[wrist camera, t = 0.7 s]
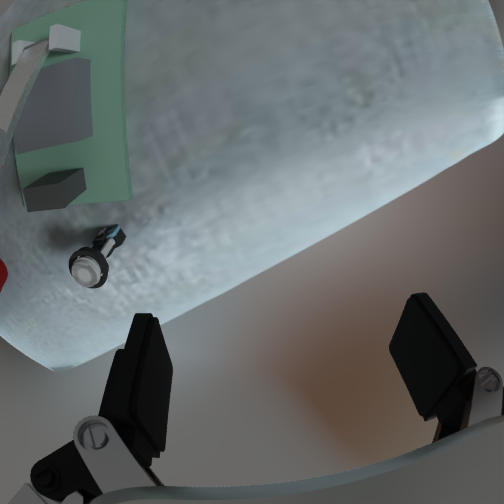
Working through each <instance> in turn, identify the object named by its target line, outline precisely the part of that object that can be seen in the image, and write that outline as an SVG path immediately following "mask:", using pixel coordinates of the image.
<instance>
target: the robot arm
mask: <svg viewBox="0 0 504 504" xmlns="http://www.w3.org/2000/svg"><path fill="white" fill-rule="evenodd" d="M389 351H390V353H391V355H392V357H393V359H394V361H395V363H396V366H397V368H398V370H399V372H400V374H401V376H402V378H403V380H404V382H405V384H406V386H407V388H408V391H409V393H410V395H411V397H412V400H413V402H414V404H415V406H416V409H417V411H418V413H419V415H420V416H423V418H424V421H428V420H431V419H433V418H435V417H436V416H437V418H438V420H439V421H438V425H437V428H436V431H435V435H434V438H433V441H432V443H431V444H429V445H426V446H424V447H421V448H419V449H416V450H413V451H411V452H408V453H405V454H403V455H399V456H397V457H394V458H391V459H387V460H384V461H381V462H378V463H375V464H371V465H367V466H364V467H360V468H357V469H352V470H348V471H344V472H340V473H335V474H331V475H326V476H321V477H315V478H309V479H304V480H297V481H290V482H283V483H274V484H265V485H250V486H232V487H231V486H230V487H175V486H173V487H172V486H164V484H163V483H162V482H161V481H160V479H159V478H158V477H157V476H156V475H155V473H154V472H153V471H152V470H151V468H150V466H151V463H152V457H154V458H160V451H161V452H164V450H165V445H166V433H167V422H168V411H169V402H170V392H171V384H172V375H173V367H172V363H171V359H170V356H169V353H168V350H167V347H166V344H165V340H164V337H163V334H162V331H161V327H160V324H159V320H158V318H157V317H153V315H152V314H151V313H136V314H135V315H134V318H133V321H132V324H131V328H130V331H129V334H128V337H127V341H126V344H125V348H124V349H118V350H117V351H116V353H115V356H114V359H113V363H112V366H111V369H110V373H109V377H108V380H107V384H106V387H105V391H104V395H103V399H102V403H101V406H100V411H99V415H98V416H89V417H86V418H84V419H82V420H81V421H80V422H79V423H78V424H77V426H76V427H75V430H74V435H73V439H74V440H72V441H71V442H69V443H67V444H66V445H64V446H63V447H61V448H59V449H58V450H56V451H55V452H53V453H51V454H50V455H48V456H46V457H45V458H43V459H41V460H39V461H38V462H37V463H36V464H34V466H33V467H32V469H31V474H30V477H31V482H30V483H29V484H28V483H25V484H24V485H23V486H22V487H21V489H20V490H19V491H18V492H17V494H16V495H15V496H14V497H13V498H12V500H11V501H10V502H9V503H8V504H504V387H503V381H502V378H501V376H500V375H499V373H498V372H497V371H496V370H494V369H493V368H490V367H482V368H480V369H479V370H478V371H476V370H475V368H476V367H477V364H476V363H475V361H474V359H473V358H472V356H471V355H470V353H469V352H468V350H467V349H466V347H465V346H464V344H463V343H462V341H461V340H460V338H459V337H458V335H457V334H456V332H455V331H454V330H453V328H452V327H451V326H450V324H449V322H448V321H447V320H446V318H445V317H444V315H443V314H442V313H441V312H440V310H439V309H438V308H437V306H436V305H435V303H434V302H433V301H432V299H431V298H430V297H429V295H428V294H427V293H424V292H423V293H416V294H412V295H411V297H410V298H409V299H408V300H407V302H406V305H405V308H404V310H403V313H402V316H401V318H400V320H399V323H398V325H397V328H396V330H395V333H394V335H393V338H392V340H391V342H390V345H389Z"/></svg>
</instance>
